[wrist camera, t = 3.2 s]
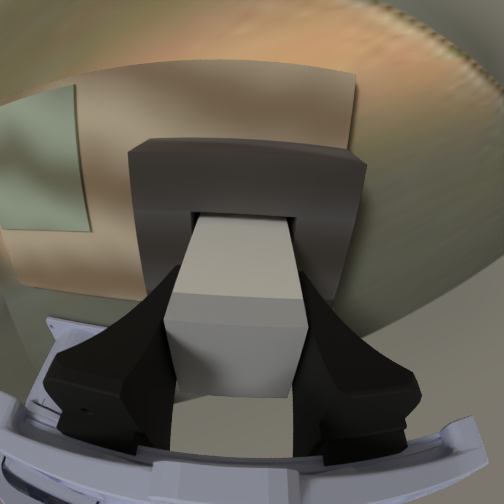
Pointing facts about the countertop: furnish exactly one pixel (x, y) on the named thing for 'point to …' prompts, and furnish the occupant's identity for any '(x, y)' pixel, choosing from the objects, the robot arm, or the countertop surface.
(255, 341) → the plug
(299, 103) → the board
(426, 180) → the countertop surface
